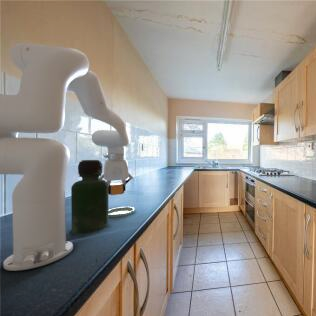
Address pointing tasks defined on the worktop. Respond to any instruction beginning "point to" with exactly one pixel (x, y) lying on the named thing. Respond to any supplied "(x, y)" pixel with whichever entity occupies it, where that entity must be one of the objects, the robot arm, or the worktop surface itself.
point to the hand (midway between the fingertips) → (116, 192)
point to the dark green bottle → (89, 199)
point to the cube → (116, 188)
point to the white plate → (120, 211)
